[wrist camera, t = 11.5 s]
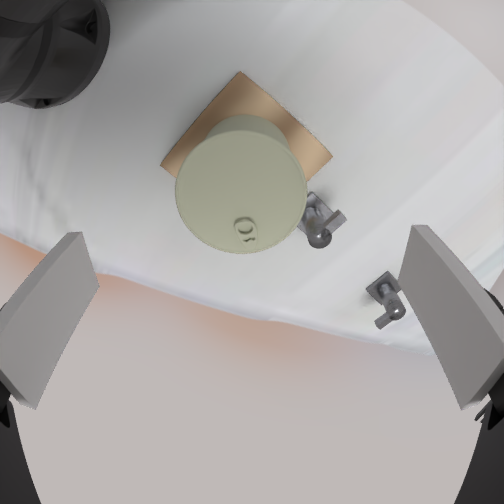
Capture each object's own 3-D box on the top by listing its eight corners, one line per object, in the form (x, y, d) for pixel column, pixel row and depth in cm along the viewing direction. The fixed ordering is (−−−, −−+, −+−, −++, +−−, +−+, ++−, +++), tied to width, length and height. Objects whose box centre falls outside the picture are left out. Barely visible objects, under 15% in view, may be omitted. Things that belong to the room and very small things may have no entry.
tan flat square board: (161, 163, 31) (159, 165, 30) (240, 71, 26) (240, 70, 25) (250, 233, 36) (250, 236, 35) (331, 154, 31) (333, 156, 30)
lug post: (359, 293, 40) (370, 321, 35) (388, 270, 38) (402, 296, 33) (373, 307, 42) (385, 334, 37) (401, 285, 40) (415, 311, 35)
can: (212, 206, 33) (193, 267, 23) (191, 125, 28) (155, 149, 18) (296, 191, 32) (316, 247, 22) (282, 107, 27) (298, 119, 17)
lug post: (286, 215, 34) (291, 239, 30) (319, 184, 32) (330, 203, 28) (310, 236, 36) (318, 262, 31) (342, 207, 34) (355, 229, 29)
